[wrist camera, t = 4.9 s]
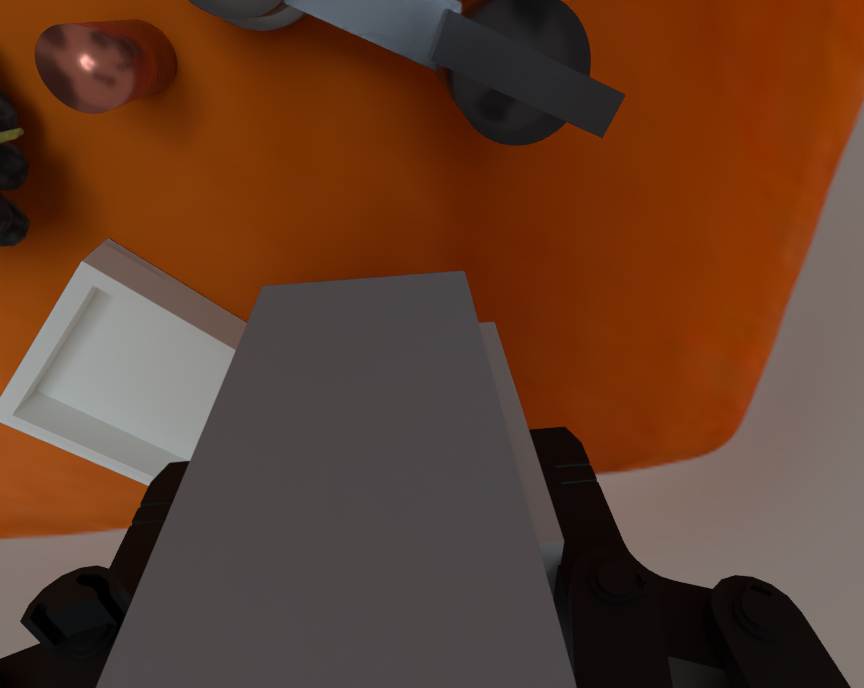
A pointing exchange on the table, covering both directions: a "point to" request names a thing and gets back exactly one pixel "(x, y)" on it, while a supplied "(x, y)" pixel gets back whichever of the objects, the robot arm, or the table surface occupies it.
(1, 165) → the fruit
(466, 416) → the block
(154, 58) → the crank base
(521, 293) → the table surface
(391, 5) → the crank
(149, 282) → the tray
